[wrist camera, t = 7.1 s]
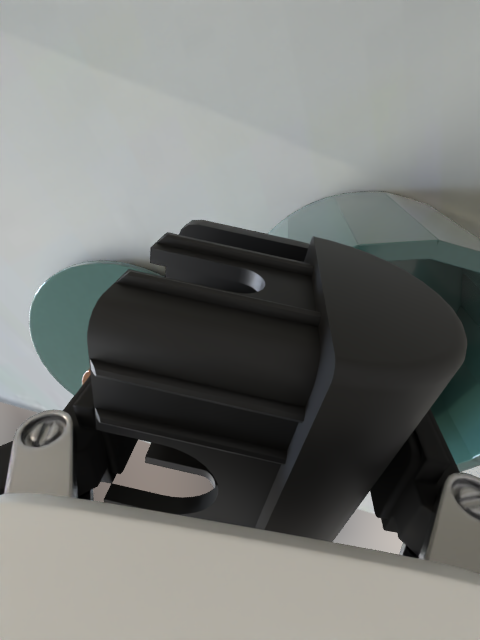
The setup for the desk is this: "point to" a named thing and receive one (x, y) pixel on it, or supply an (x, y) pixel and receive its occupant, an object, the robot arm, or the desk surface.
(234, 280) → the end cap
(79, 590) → the robot arm
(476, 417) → the canister
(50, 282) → the lid
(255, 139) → the desk surface
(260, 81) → the desk surface
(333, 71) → the desk surface
